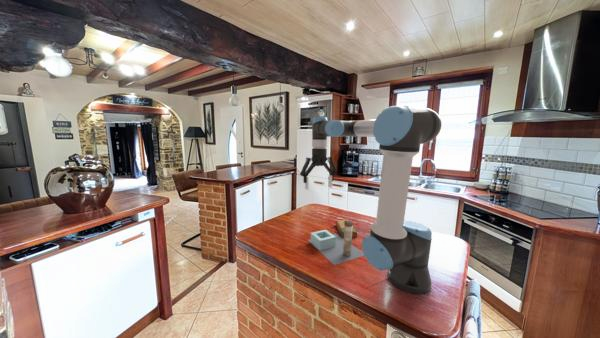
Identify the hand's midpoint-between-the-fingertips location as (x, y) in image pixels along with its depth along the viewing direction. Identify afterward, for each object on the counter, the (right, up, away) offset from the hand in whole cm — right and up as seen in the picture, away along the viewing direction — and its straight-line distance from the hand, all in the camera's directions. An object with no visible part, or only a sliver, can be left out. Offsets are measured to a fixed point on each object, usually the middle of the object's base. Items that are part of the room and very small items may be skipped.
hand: (318, 188), depth 117 cm
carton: (+16, -27, +10) cm, 33 cm away
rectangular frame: (+2, -28, -5) cm, 28 cm away
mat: (+8, -29, -8) cm, 31 cm away
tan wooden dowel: (+12, -30, -15) cm, 35 cm away
